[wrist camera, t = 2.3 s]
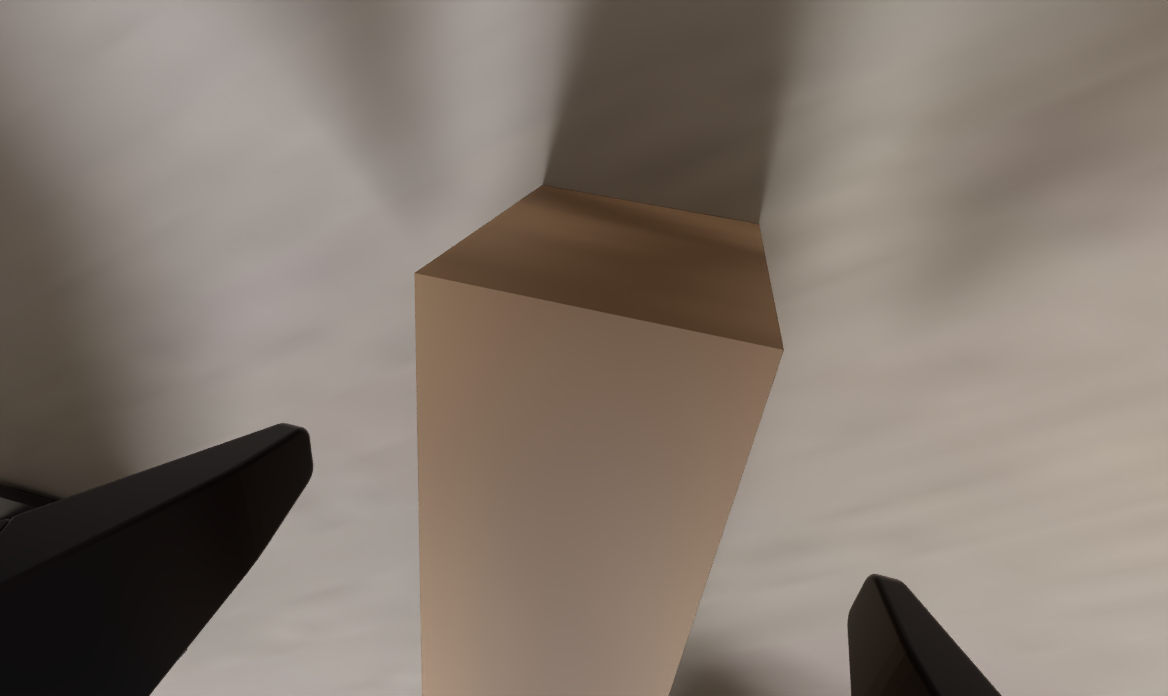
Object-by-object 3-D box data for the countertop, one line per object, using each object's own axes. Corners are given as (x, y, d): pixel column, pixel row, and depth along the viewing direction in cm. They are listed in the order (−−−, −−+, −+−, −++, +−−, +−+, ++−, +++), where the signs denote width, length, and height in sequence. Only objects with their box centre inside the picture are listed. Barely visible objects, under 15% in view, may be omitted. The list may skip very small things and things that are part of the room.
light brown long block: (501, 651, 17) (424, 851, 13) (542, 184, 11) (414, 272, 6) (630, 689, 17) (596, 911, 12) (759, 224, 10) (784, 349, 6)
